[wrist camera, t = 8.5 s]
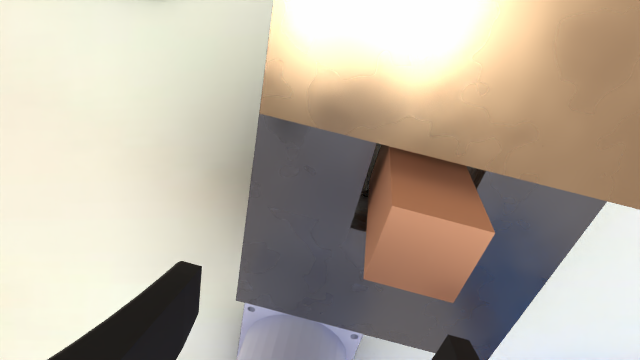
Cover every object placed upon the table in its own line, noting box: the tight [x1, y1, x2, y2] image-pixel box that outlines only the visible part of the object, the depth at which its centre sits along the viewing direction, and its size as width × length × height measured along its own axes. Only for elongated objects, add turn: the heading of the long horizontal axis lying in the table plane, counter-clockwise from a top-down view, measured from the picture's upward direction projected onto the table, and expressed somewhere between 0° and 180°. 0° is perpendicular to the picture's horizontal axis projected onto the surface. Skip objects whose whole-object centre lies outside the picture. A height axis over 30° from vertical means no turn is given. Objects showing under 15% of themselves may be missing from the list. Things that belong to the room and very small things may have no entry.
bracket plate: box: [236, 0, 640, 360], centre depth 16 cm, size 18×14×5 cm
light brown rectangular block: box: [364, 144, 495, 303], centre depth 15 cm, size 3×3×7 cm
